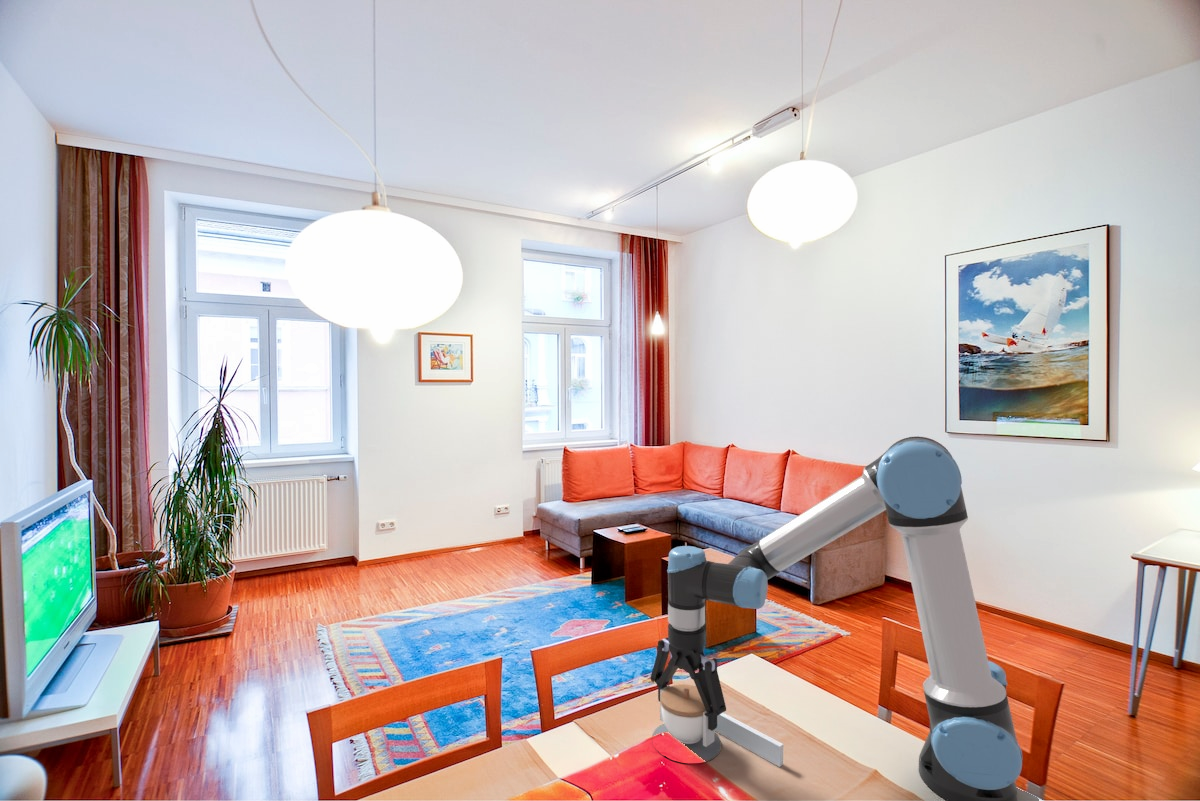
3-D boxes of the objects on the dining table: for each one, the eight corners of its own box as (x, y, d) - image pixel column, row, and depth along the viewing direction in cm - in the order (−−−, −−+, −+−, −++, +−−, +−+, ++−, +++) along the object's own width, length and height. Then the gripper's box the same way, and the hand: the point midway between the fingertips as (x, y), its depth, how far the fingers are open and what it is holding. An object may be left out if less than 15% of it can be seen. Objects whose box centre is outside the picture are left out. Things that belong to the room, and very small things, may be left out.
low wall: (783, 764, 110) (783, 744, 110) (779, 767, 109) (779, 746, 109) (693, 715, 126) (694, 697, 126) (690, 717, 125) (690, 699, 125)
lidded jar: (710, 721, 122) (710, 677, 121) (715, 753, 111) (715, 705, 111) (660, 718, 123) (660, 675, 122) (660, 749, 112) (660, 702, 112)
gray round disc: (734, 743, 116) (734, 742, 116) (690, 774, 107) (690, 772, 107) (682, 714, 127) (682, 712, 127) (637, 739, 117) (637, 738, 117)
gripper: (745, 637, 110) (745, 749, 110) (657, 603, 127) (657, 700, 128) (721, 649, 105) (721, 766, 105) (633, 612, 122) (633, 713, 123)
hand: (686, 730), depth 117 cm, fingers closed on lidded jar, 11 cm apart
